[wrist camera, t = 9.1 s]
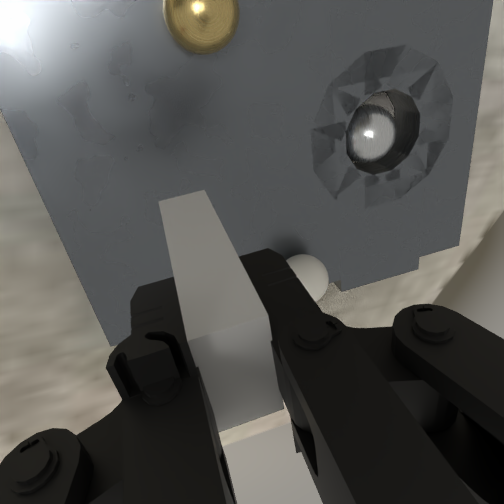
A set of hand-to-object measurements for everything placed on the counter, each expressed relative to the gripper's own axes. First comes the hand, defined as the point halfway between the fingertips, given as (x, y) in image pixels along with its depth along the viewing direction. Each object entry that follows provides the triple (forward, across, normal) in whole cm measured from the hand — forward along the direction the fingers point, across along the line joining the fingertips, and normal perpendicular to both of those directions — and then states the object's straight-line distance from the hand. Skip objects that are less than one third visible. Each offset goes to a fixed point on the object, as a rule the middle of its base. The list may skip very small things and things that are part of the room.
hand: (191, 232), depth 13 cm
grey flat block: (+10, +6, -1) cm, 12 cm away
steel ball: (+8, +11, -1) cm, 14 cm away
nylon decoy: (+6, +6, -8) cm, 11 cm away
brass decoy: (+6, +3, +6) cm, 9 cm away
